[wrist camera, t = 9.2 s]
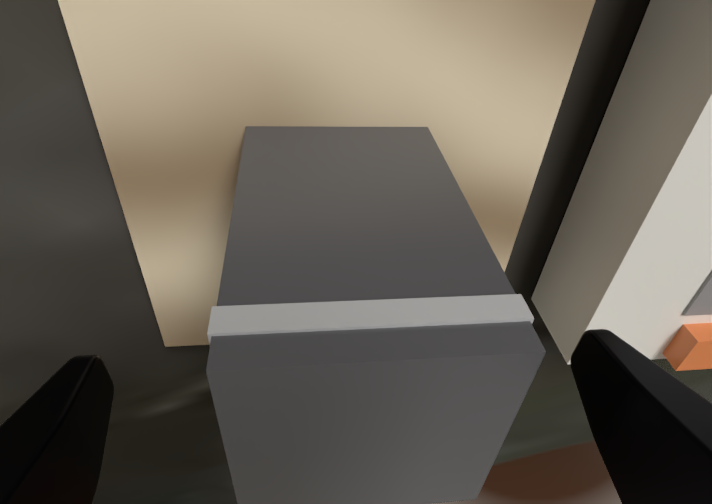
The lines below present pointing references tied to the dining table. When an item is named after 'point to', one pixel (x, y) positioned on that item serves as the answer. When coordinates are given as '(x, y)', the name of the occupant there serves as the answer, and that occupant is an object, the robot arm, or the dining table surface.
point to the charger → (361, 324)
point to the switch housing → (644, 203)
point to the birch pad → (309, 107)
